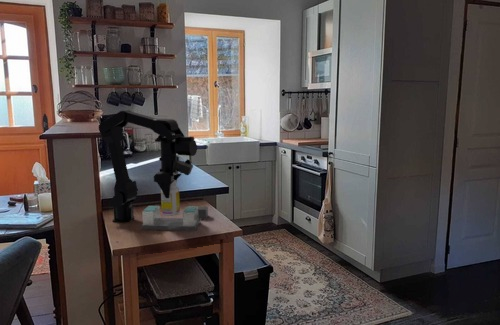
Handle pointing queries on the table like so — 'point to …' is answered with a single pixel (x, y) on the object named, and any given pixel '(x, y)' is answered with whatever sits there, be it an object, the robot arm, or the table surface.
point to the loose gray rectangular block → (202, 212)
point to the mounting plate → (170, 220)
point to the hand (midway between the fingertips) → (170, 195)
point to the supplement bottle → (171, 201)
